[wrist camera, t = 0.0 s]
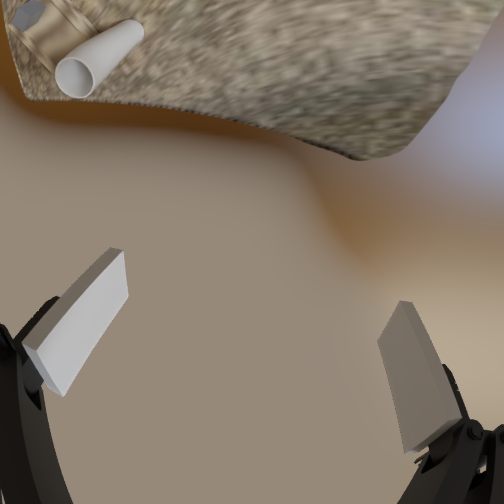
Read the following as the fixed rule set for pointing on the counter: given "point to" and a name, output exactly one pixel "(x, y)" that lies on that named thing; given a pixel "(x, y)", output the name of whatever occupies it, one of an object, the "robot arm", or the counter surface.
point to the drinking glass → (97, 58)
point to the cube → (28, 15)
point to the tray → (55, 32)
